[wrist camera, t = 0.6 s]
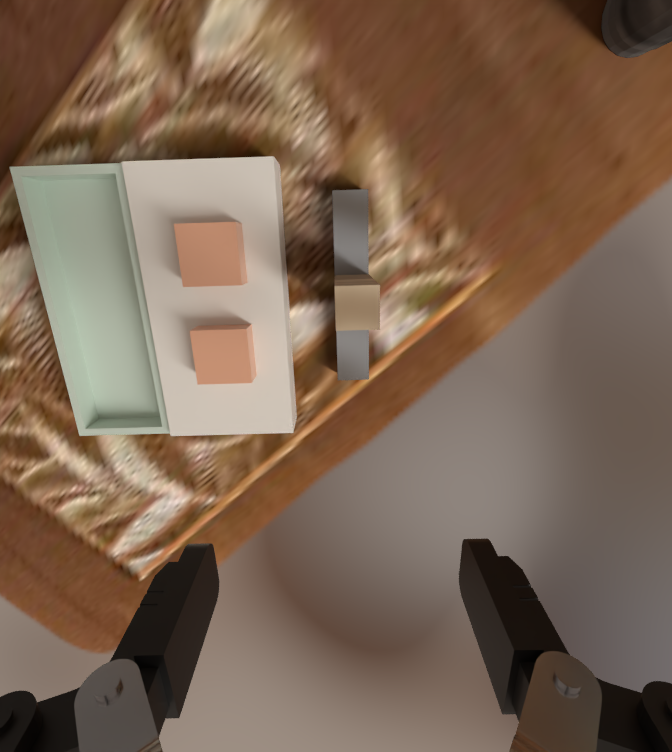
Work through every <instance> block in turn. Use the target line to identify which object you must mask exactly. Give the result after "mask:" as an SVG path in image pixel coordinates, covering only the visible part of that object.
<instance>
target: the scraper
mask: <svg viewBox="0 0 672 752" xmlns="http://www.w3.org/2000/svg"><path fill="white" fill-rule="evenodd" d="M332 200H333V233H334V267H335V285H334V287H335V320H336V334H337V368H338V380H363V379H369V330H380V284H378V283H377V282H376V281H375V280H374V279H373V278H372V277H371V276H370V275H369V274H368V189H361V190H332Z"/></svg>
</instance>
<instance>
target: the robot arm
mask: <svg viewBox="0 0 672 752" xmlns="http://www.w3.org/2000/svg"><path fill="white" fill-rule="evenodd" d="M459 585H460V591H461V596H462V599H463V602H464V605H465V608H466V611H467V613H468V616H469V619H470V622H471V625H472V628H473V631H474V634H475V637H476V639H477V642H478V645H479V648H480V651H481V654H482V657H483V660H484V662H485V665H486V668H487V671H488V674H489V677H490V679H491V683H492V686H493V689H494V691H495V694H496V697H497V700H498V703H499V706H500V709H501V712H502V714H516V715H517V718H518V720H519V724H518V728H517V731H516V734H515V737H514V739H513V741H512V745H511V748H510V752H672V684H671V683H667V682H661V681H656V682H655V681H654V682H651V683H649V684H647V685H646V686H645V687H644V689H643V692H642V693H640V692H637V691H633V690H630V689H627V688H623V687H620V686H617V685H613V684H610V683H607V682H604V681H602V680H600V679H598V678H596V677H595V676H594V675H593V673H592V672H591V671H590V670H589V669H588V668H587V667H586V666H585V665H584V664H583V663H582V662H580V661H579V660H578V659H576V658H574V657H572V656H570V654H569V653H568V652H567V650H566V648H565V646H564V644H563V642H562V641H561V639H560V637H559V635H558V633H557V632H556V630H555V628H554V626H553V625H552V622H551V621H550V619H549V617H548V615H547V613H546V612H545V610H544V608H543V606H542V605H541V603H540V601H538V597H537V595H536V594H535V592H534V590H533V588H531V585H530V583H529V581H528V579H527V577H526V576H525V574H524V572H523V570H522V569H521V568H520V567H519V566H518V565H517V564H516V563H515V562H514V561H513V560H511V558H509V557H508V556H497V554H496V551H495V549H494V547H493V545H492V543H491V542H490V540H489V539H464V540H463V543H462V553H461V562H460V571H459ZM218 593H219V577H218V570H217V564H216V558H215V552H214V547H213V545H212V544H188V545H187V546H186V547H185V549H184V551H183V553H182V555H181V557H180V559H179V561H178V562H168V563H167V564H166V565H165V566H164V567H163V568H162V569H161V570H160V571H159V572H158V573H157V574H156V575H155V577H154V579H153V581H152V583H151V585H150V587H149V588H148V590H147V594H145V596H144V598H143V600H142V602H141V604H140V608H138V609H137V611H136V613H135V615H134V617H133V619H132V621H131V623H130V625H129V626H128V628H127V630H126V632H125V634H124V636H123V638H122V640H121V642H120V644H119V645H118V647H117V649H116V651H115V653H114V655H113V657H112V658H111V660H110V662H108V663H106V664H104V665H102V666H101V667H99V668H98V669H97V670H95V671H94V672H93V673H92V674H91V675H90V676H89V677H88V678H87V679H86V680H85V681H84V683H83V684H82V685H81V687H80V688H77V689H75V690H73V691H70V692H67V693H64V694H61V695H58V696H55V697H52V698H49V699H47V700H44V701H40V702H37V701H36V699H35V697H34V696H33V694H32V693H30V692H27V691H15V692H11V693H8V694H6V695H4V696H1V697H0V752H163V751H162V748H161V744H160V741H159V735H160V732H161V729H162V726H163V723H164V720H165V718H179V717H180V714H181V711H182V708H183V705H184V701H185V698H186V695H187V692H188V689H189V686H190V683H191V680H192V677H193V673H194V670H195V667H196V664H197V661H198V658H199V655H200V651H201V649H202V646H203V642H204V639H205V636H206V633H207V630H208V627H209V624H210V621H211V618H212V614H213V611H214V608H215V605H216V602H217V598H218Z"/></svg>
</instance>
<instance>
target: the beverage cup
mask: <svg viewBox="0 0 672 752" xmlns="http://www.w3.org/2000/svg"><path fill="white" fill-rule="evenodd" d="M601 28H602V33H603V39H604V41H605V43H606V44H607V46H608V48H609V49H610V50H611V51H612V52H613V53H615V54H616V55H618V56H622V57H625V58H630V57H638V56H640V55H642V54H644V53H646V52H648V51H650V50H653V49H657V48H659V47H661V46H663V45H665V44H667V43H669V42H671V41H672V0H607V3H606V6H605V9H604V11H603V14H602V26H601Z"/></svg>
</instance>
